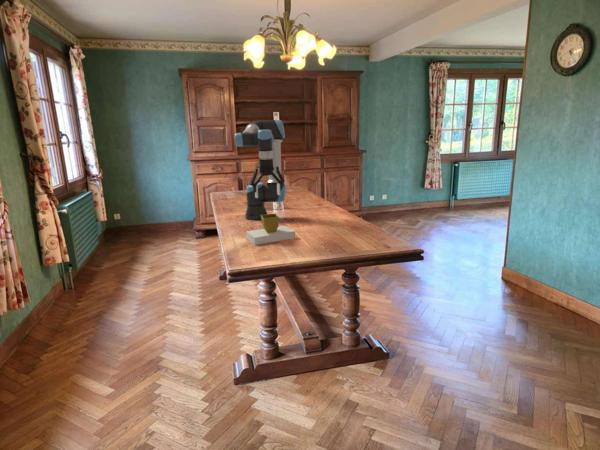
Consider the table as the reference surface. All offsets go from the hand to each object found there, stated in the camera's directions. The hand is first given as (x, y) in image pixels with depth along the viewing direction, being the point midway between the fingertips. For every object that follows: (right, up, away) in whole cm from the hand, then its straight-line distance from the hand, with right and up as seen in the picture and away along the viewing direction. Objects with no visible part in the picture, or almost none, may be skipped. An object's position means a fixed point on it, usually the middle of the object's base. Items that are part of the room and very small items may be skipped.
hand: (267, 196), depth 219 cm
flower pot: (+2, -20, -2) cm, 20 cm away
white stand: (+2, -24, -1) cm, 24 cm away
